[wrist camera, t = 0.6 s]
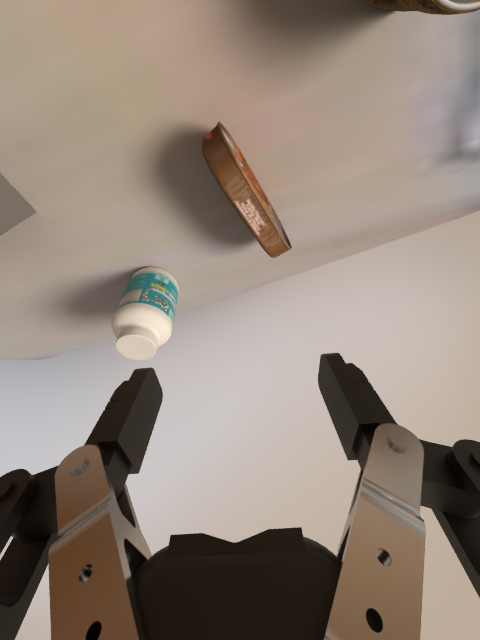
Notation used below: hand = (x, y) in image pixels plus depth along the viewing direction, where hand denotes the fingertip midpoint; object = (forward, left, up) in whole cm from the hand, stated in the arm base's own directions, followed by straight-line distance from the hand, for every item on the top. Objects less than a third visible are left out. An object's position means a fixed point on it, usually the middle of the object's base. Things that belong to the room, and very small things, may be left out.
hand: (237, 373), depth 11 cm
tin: (-2, +3, -26) cm, 27 cm away
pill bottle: (+14, -9, -26) cm, 31 cm away
